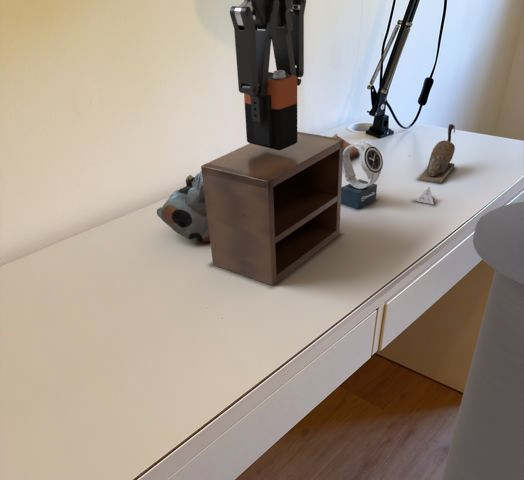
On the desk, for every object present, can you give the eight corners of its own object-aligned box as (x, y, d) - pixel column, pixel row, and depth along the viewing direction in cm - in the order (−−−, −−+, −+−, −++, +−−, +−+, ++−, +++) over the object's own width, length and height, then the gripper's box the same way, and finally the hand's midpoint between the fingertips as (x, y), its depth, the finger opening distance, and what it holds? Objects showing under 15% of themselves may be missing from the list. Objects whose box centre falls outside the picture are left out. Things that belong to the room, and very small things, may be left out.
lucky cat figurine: (197, 206, 104) (226, 142, 96) (240, 243, 101) (273, 180, 93) (142, 213, 92) (169, 140, 84) (189, 255, 89) (221, 184, 81)
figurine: (439, 158, 118) (445, 118, 113) (459, 161, 116) (467, 120, 111) (419, 180, 109) (425, 137, 104) (440, 183, 107) (447, 139, 102)
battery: (264, 135, 81) (262, 63, 75) (298, 143, 78) (298, 68, 71) (245, 143, 79) (240, 69, 73) (279, 152, 75) (277, 74, 69)
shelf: (339, 234, 92) (343, 139, 82) (272, 285, 80) (267, 181, 70) (283, 219, 98) (281, 128, 88) (212, 265, 86) (200, 165, 76)
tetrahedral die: (437, 204, 102) (441, 188, 101) (433, 204, 100) (437, 188, 98) (420, 200, 103) (424, 185, 102) (416, 201, 101) (419, 185, 100)
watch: (365, 211, 99) (370, 152, 92) (333, 200, 103) (335, 143, 97) (384, 202, 101) (390, 144, 95) (351, 192, 106) (354, 135, 99)
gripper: (284, -65, 70) (288, 119, 85) (194, -57, 60) (216, 152, 74) (333, -67, 67) (328, 125, 81) (246, -60, 56) (258, 161, 70)
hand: (274, 138), depth 78 cm, fingers closed on battery, 5 cm apart
